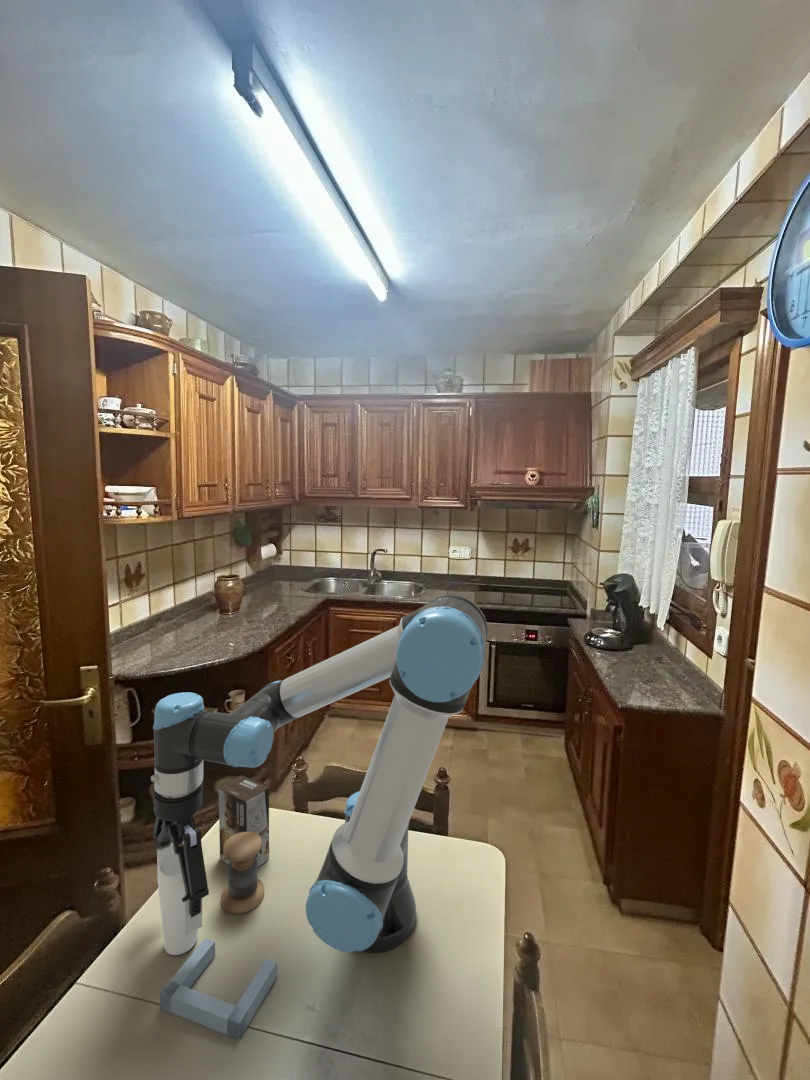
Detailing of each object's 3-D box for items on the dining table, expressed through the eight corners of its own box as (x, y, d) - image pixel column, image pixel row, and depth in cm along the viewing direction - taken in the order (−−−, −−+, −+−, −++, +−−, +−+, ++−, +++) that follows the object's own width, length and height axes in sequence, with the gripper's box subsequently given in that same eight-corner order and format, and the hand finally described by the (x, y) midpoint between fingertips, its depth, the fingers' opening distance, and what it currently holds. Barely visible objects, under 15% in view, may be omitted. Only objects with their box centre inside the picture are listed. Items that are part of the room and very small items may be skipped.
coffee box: (270, 858, 107) (270, 786, 106) (246, 877, 101) (246, 801, 100) (242, 842, 112) (242, 773, 111) (218, 859, 106) (217, 787, 105)
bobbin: (272, 887, 99) (272, 835, 98) (248, 919, 91) (248, 862, 90) (238, 877, 101) (237, 826, 100) (211, 907, 94) (211, 852, 93)
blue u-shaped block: (277, 976, 80) (277, 962, 80) (239, 1039, 71) (239, 1023, 71) (205, 951, 85) (205, 938, 84) (160, 1008, 75) (160, 993, 75)
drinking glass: (186, 965, 82) (185, 880, 81) (150, 957, 83) (148, 873, 82) (210, 930, 89) (209, 851, 88) (176, 923, 90) (175, 845, 89)
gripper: (133, 763, 90) (134, 872, 92) (181, 834, 72) (180, 968, 74) (176, 750, 95) (176, 854, 97) (231, 813, 77) (229, 939, 79)
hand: (178, 903), depth 86 cm, fingers open, 13 cm apart
